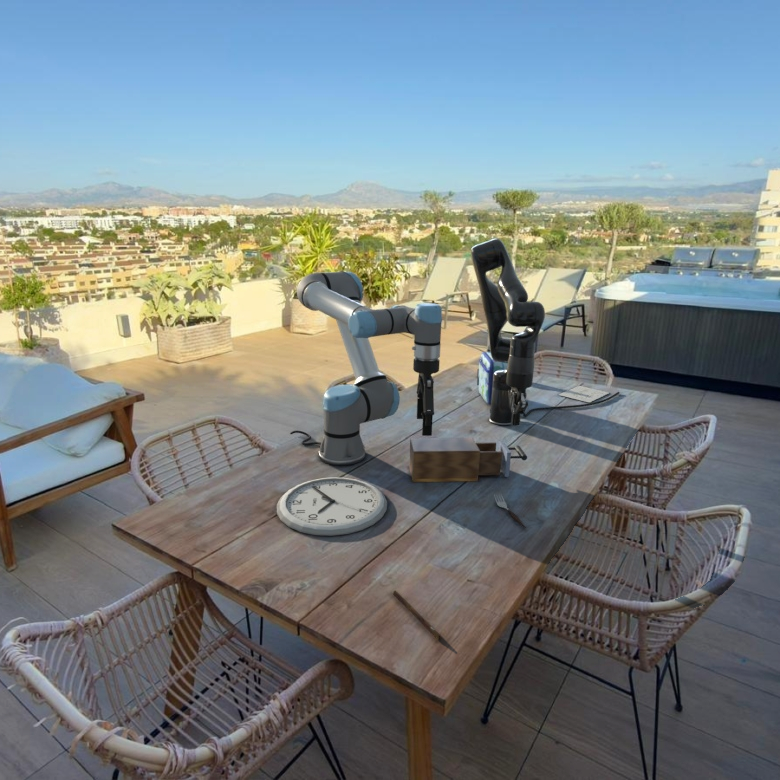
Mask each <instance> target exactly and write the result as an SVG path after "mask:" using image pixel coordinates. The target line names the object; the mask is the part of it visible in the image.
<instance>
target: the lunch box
mask: <svg viewBox="0 0 780 780" xmlns="http://www.w3.org/2000/svg"><path fill="white" fill-rule="evenodd" d="M506 368H508V363H502V362H497V361H494V360H493V359H492V356H491V352H487V351H482V352H481V354H480V358H479V360H478V369H479V377H478V378H477V381H476V384H477V385H476V386H478V393H479V395H480V396H481V397H482V399H483V400H484V402H485V404H487V405H488V406H489V405H490V406H491V398H492V385H493V374H494V372H495V371H497V370H502V369H506Z"/></svg>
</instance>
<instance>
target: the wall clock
mask: <svg viewBox="0 0 780 780" xmlns="http://www.w3.org/2000/svg"><path fill="white" fill-rule="evenodd" d="M387 509H388V500H387V498H386V496H385V494H384V493H383V492H382V491H381V490H380V489H379V488H377V487H376V486H374V485H372V484H371V483H369V482H365V481H362V480H359V479H355V478H349V477H338V476H337V477H335V476H333V477H332V476H331V477H322V478H317V479H312V480H307V481H305V482H302V483H299V484H297V485H295V486H293V487H292V488H290V489H288V490H287V491H286V492H285V493H284V494H283V495H281V496H280V498H279V499H278V502H277V503H276V515H277V517H278V518H279V520H280V521H281V522H282V523H283V524H285V525H286V526H287V527H288V528H290V529H293V530H295V531H297V532H299V533H303V534H308V535H312V536H327V537H328V536H329V537H331V536H332V537H333V536H342V535H350V534H352V533H356V532H361V531H363V530H366V529H368V528H369V527H372V526H373V525H375V524H376V523H378V522H379V521H380V520H381V519H382V518H383V517H384V516H385V514H386V512H387Z"/></svg>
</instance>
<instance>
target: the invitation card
mask: <svg viewBox="0 0 780 780" xmlns="http://www.w3.org/2000/svg"><path fill="white" fill-rule="evenodd" d="M609 394H610V392H609V391H604V390H600V389H595V388H592V387H587V386H582V385H577V386H575V387H573V388H571V389H567V390H566V391H563V392H561V393H558V396H559V397H560V396H561V397H565V398H569V399H572V400H575V401H581V402H584V403H587V404H589V403H593V402H595V401H596V400H598V399H601V398H602V397H604V396H607V395H609Z"/></svg>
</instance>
